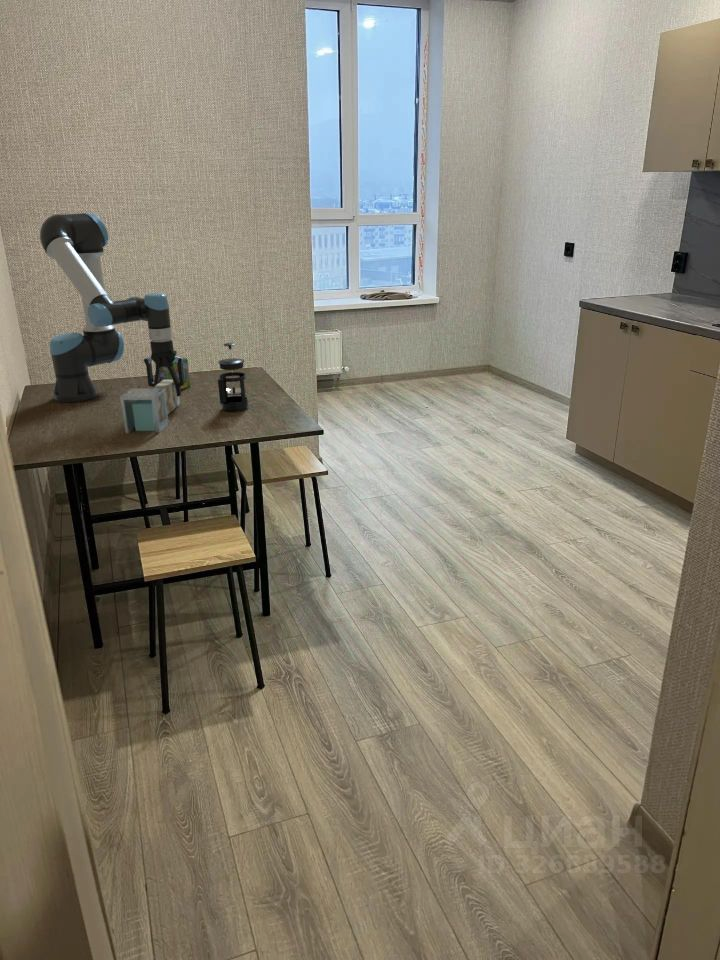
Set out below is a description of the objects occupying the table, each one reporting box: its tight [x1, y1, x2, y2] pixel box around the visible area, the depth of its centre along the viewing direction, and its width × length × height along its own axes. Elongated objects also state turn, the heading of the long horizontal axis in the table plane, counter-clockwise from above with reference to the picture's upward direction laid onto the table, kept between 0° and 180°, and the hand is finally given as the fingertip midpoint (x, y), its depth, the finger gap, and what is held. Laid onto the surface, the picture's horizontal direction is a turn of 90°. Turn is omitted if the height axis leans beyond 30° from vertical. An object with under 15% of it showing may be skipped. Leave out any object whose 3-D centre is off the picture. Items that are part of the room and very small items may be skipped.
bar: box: [152, 380, 181, 422], centre depth 243 cm, size 22×5×9 cm, turn 175°
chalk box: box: [154, 350, 191, 390], centre depth 273 cm, size 9×9×15 cm
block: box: [132, 400, 161, 432], centre depth 227 cm, size 6×6×9 cm
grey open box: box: [119, 387, 169, 434], centre depth 226 cm, size 10×11×12 cm
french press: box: [217, 342, 250, 413], centre depth 243 cm, size 12×9×23 cm
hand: (169, 404), depth 251 cm, fingers closed on bar, 5 cm apart
